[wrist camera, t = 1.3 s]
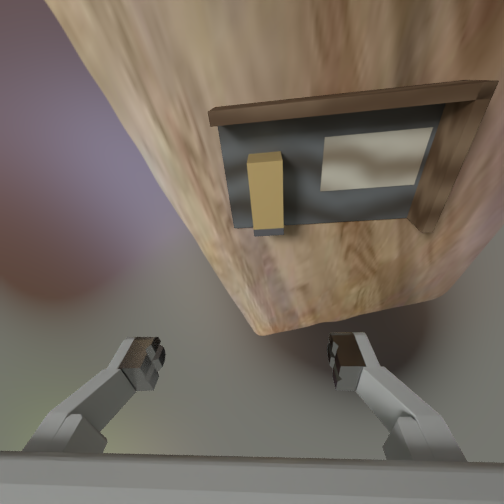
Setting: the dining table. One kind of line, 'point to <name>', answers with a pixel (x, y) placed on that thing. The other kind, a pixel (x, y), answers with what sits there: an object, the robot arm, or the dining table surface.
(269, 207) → the ochre bar
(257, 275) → the dining table surface
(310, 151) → the gray brown tray
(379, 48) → the dining table surface
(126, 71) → the dining table surface
